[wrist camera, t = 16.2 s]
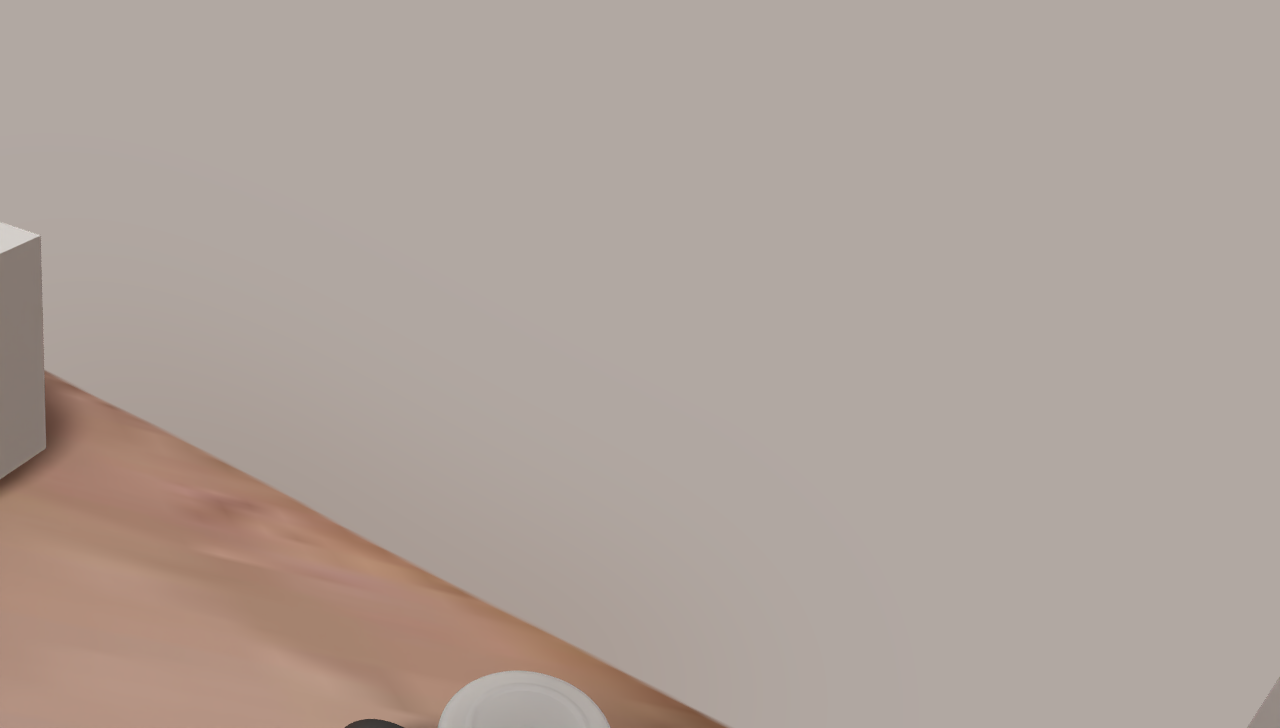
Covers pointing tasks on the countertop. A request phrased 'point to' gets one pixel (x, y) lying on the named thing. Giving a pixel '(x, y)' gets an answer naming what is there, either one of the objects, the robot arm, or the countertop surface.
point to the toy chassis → (373, 724)
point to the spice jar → (521, 704)
